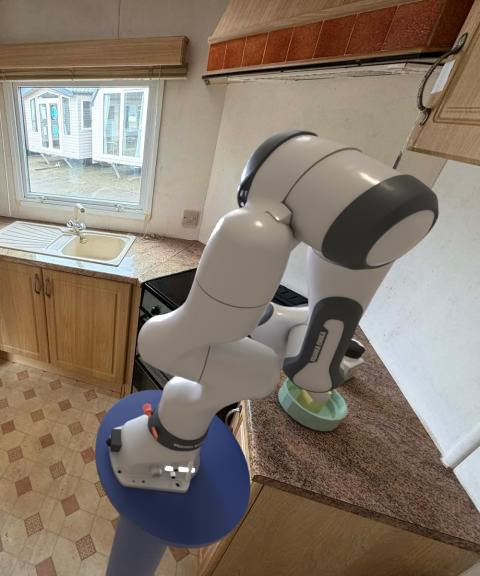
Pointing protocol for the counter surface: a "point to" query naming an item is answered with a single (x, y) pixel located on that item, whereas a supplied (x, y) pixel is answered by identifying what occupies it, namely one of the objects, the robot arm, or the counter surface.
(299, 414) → the bowl
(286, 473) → the counter surface
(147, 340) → the robot arm
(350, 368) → the container
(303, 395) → the butter
